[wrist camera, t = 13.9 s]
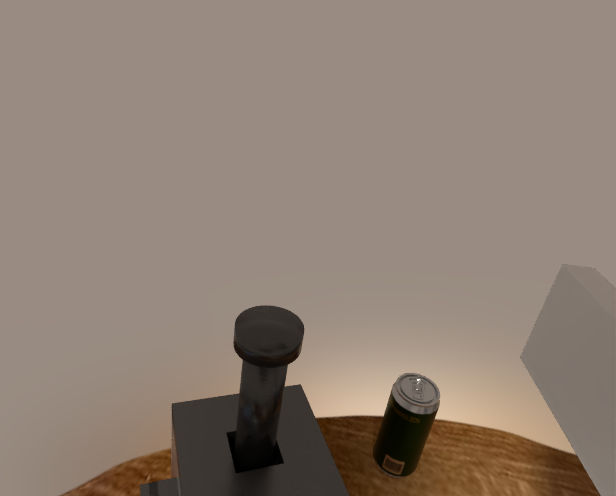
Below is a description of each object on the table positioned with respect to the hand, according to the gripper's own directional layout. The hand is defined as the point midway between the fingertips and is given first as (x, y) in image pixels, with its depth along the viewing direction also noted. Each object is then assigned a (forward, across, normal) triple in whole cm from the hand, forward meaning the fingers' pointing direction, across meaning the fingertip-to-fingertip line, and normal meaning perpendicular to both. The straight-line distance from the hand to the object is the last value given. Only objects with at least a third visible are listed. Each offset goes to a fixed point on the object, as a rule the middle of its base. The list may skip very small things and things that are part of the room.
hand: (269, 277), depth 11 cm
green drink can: (+29, +17, -42) cm, 54 cm away
